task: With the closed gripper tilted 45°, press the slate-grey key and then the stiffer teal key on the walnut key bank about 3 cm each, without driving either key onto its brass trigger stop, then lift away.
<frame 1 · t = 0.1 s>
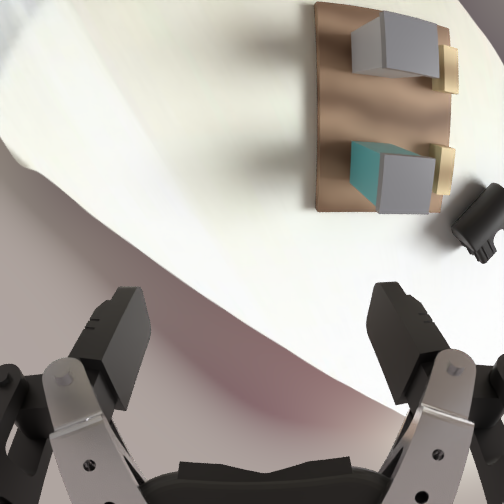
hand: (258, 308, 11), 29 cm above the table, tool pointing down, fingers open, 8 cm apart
end cap: (472, 212, 40), on the table
teal key: (387, 172, 30), point 7 cm above the table, slide at 0.0 cm
key base: (387, 110, 34), on the table
grey key: (390, 50, 24), point 7 cm above the table, slide at 0.0 cm
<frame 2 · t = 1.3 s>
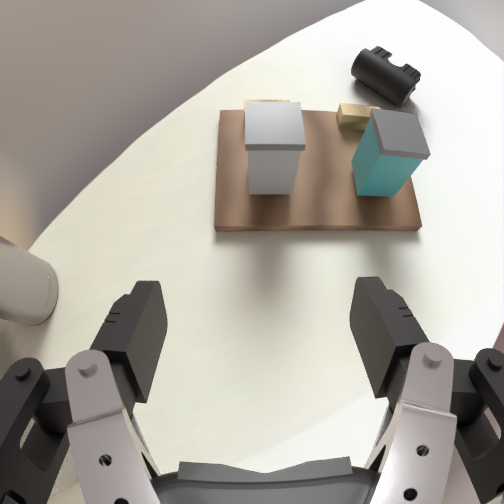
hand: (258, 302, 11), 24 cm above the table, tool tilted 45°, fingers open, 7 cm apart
end cap: (380, 91, 46), on the table
travel mug: (101, 501, 27), on the table
teal key: (385, 156, 33), point 8 cm above the table, slide at 0.0 cm
key base: (317, 167, 41), on the table
grey key: (271, 151, 33), point 8 cm above the table, slide at 0.0 cm
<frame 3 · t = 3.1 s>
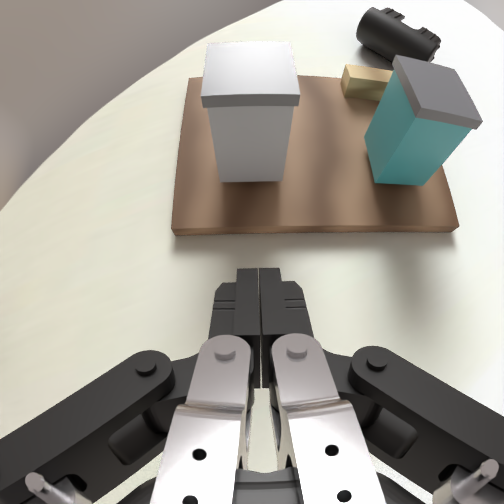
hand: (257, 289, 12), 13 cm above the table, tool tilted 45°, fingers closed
end cap: (391, 60, 35), on the table
teal key: (415, 127, 21), point 8 cm above the table, slide at 0.0 cm
key base: (317, 146, 29), on the table
grey key: (250, 117, 21), point 8 cm above the table, slide at 0.0 cm
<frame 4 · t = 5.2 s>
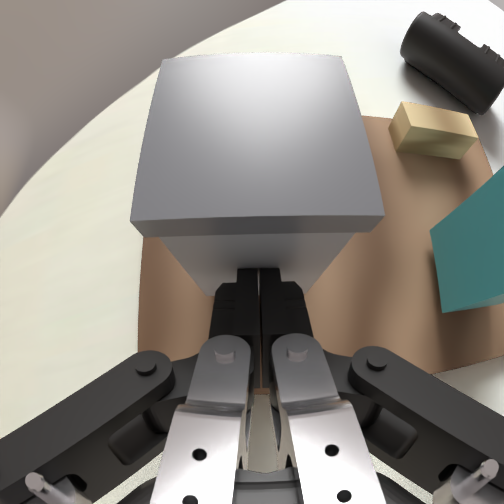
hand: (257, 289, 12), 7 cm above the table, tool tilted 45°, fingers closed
end cap: (442, 85, 25), on the table
key base: (356, 237, 19), on the table
grey key: (255, 205, 12), point 7 cm above the table, slide at 1.6 cm, touching gripper
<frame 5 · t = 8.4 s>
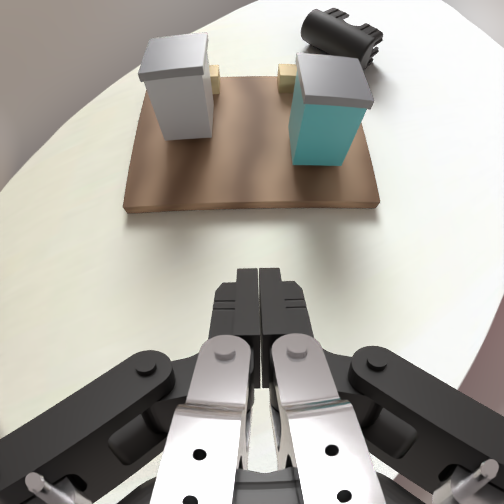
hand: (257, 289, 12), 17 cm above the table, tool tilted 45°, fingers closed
end cap: (337, 56, 40), on the table
teal key: (323, 113, 26), point 8 cm above the table, slide at 0.0 cm
key base: (250, 136, 34), on the table
grey key: (182, 89, 27), point 8 cm above the table, slide at 3.6 cm
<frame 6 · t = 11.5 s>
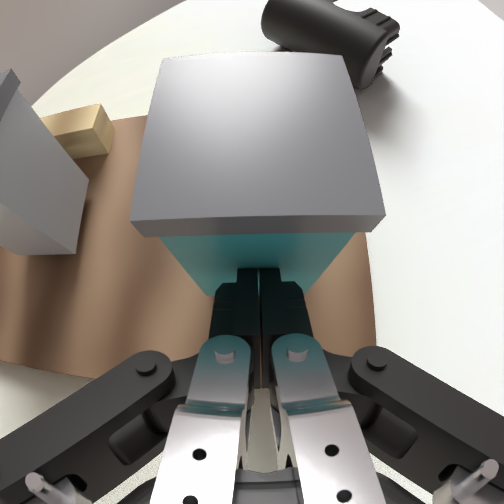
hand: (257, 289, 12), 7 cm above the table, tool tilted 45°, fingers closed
end cap: (325, 63, 25), on the table
teal key: (255, 204, 12), point 8 cm above the table, slide at 1.3 cm, touching gripper
key base: (151, 236, 20), on the table
grey key: (6, 181, 13), point 7 cm above the table, slide at 3.6 cm
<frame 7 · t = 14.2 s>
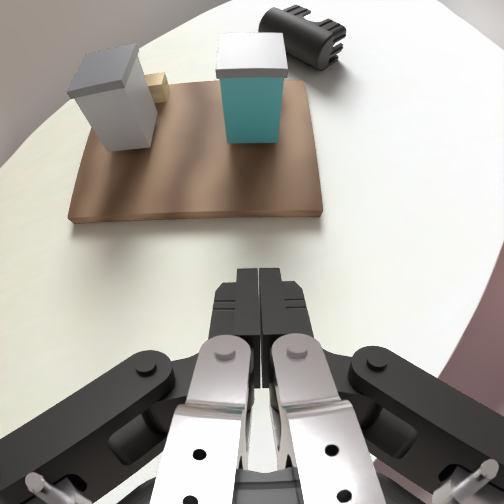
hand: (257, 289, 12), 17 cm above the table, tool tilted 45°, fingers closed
end cap: (299, 55, 39), on the table
teal key: (251, 90, 26), point 8 cm above the table, slide at 3.5 cm
key base: (193, 144, 33), on the table
grey key: (118, 101, 26), point 7 cm above the table, slide at 3.6 cm
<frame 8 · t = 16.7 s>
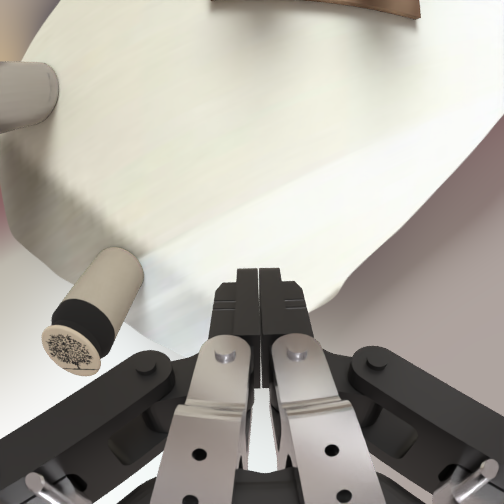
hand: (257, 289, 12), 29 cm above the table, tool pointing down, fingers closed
travel mug: (120, 269, 45), on the table
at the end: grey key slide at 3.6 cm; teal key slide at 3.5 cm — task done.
